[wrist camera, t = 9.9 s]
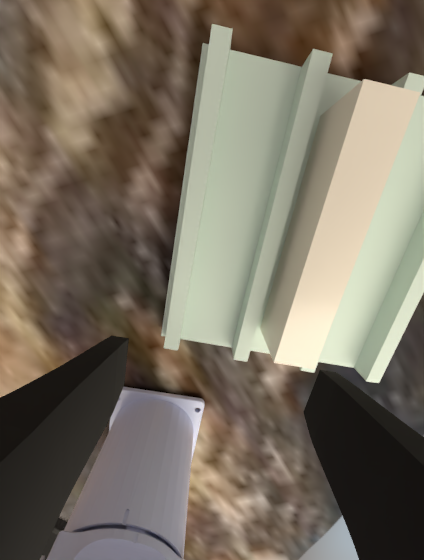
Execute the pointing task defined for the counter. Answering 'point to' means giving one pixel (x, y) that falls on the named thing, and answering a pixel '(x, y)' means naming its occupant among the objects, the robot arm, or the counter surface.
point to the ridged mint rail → (283, 211)
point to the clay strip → (333, 216)
